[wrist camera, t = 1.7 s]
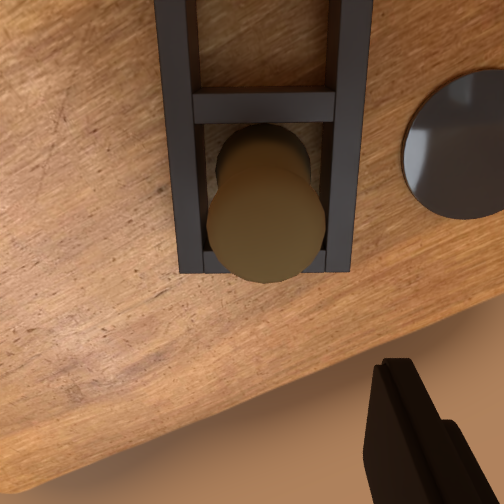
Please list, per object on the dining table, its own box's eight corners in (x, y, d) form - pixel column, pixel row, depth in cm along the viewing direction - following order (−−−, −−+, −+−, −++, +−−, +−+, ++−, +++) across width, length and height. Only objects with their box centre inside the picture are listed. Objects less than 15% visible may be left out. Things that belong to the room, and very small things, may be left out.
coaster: (570, 67, 25) (575, 67, 25) (531, 216, 29) (535, 219, 28) (411, 70, 25) (414, 70, 25) (392, 217, 29) (394, 220, 29)
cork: (203, 199, 29) (174, 280, 19) (233, 108, 26) (218, 144, 16) (289, 229, 30) (306, 322, 20) (326, 143, 27) (367, 198, 17)
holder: (364, -101, 22) (385, -131, 18) (338, 245, 30) (350, 272, 26) (160, -97, 22) (141, -125, 19) (188, 247, 30) (179, 274, 27)
